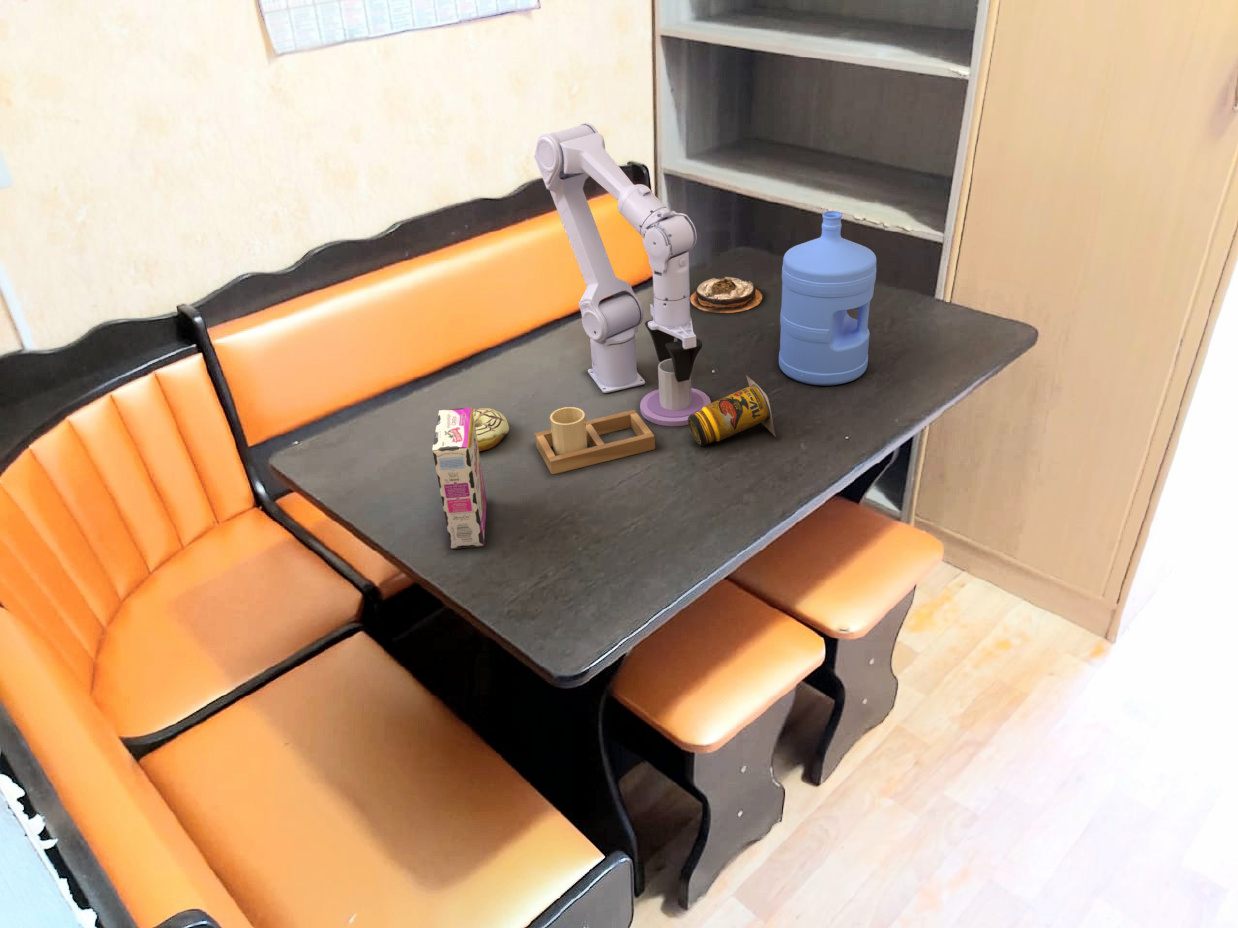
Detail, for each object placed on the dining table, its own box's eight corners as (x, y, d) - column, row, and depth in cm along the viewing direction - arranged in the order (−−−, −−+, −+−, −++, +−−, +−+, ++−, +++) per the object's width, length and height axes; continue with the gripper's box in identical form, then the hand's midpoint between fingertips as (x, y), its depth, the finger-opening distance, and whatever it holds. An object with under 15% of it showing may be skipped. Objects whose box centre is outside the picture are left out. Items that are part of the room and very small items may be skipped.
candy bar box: (486, 547, 128) (468, 447, 119) (450, 550, 128) (429, 451, 119) (489, 500, 137) (472, 405, 128) (455, 504, 137) (436, 408, 128)
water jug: (769, 381, 162) (773, 227, 147) (789, 343, 174) (795, 197, 159) (858, 393, 157) (873, 233, 142) (873, 353, 169) (888, 202, 154)
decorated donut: (522, 435, 152) (519, 416, 150) (472, 464, 146) (468, 444, 144) (481, 416, 159) (478, 397, 156) (431, 443, 152) (427, 423, 150)
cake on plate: (735, 318, 185) (736, 299, 183) (676, 303, 194) (675, 284, 191) (775, 293, 194) (775, 275, 192) (716, 280, 203) (716, 262, 200)
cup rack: (536, 446, 149) (534, 433, 148) (635, 422, 154) (634, 409, 152) (551, 475, 142) (550, 461, 141) (655, 449, 146) (654, 435, 145)
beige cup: (550, 449, 148) (545, 411, 144) (582, 441, 150) (578, 404, 146) (560, 465, 144) (555, 427, 140) (592, 457, 145) (589, 419, 141)
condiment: (767, 394, 142) (697, 424, 140) (776, 437, 147) (709, 467, 145) (747, 374, 148) (680, 403, 146) (756, 416, 153) (691, 445, 151)
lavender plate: (630, 400, 160) (629, 394, 159) (693, 385, 163) (693, 379, 162) (655, 432, 150) (655, 426, 150) (722, 416, 153) (722, 410, 153)
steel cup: (654, 399, 158) (653, 362, 154) (683, 392, 159) (682, 355, 155) (666, 413, 153) (665, 376, 149) (696, 406, 155) (695, 369, 151)
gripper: (631, 282, 150) (636, 357, 158) (665, 315, 139) (668, 394, 146) (671, 274, 152) (674, 349, 159) (708, 306, 140) (708, 385, 148)
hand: (673, 370), depth 153 cm, fingers open, 7 cm apart
